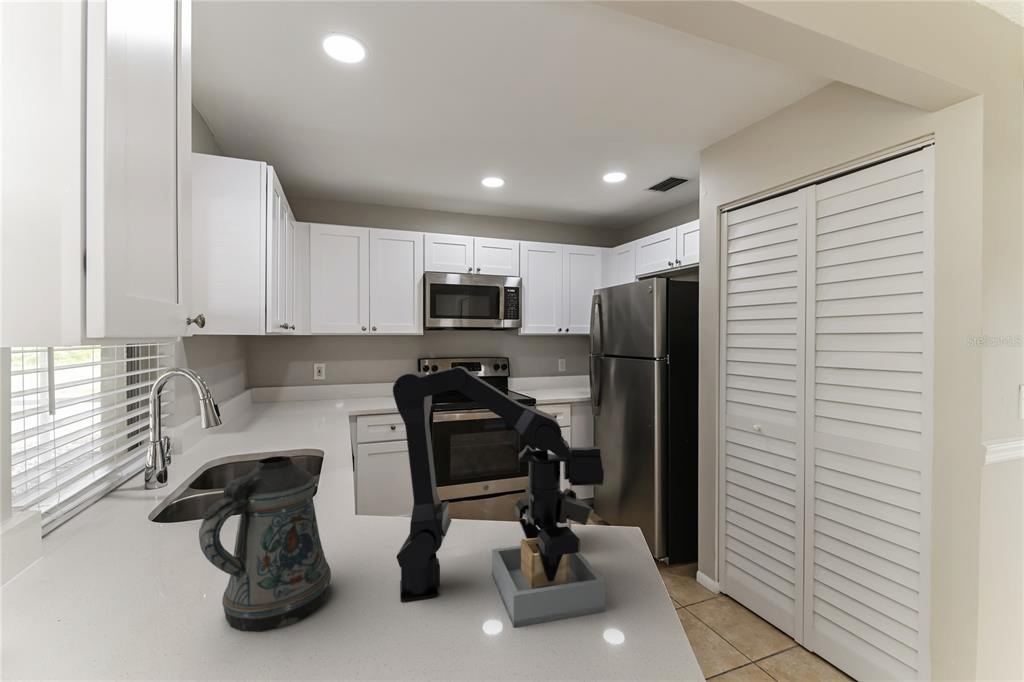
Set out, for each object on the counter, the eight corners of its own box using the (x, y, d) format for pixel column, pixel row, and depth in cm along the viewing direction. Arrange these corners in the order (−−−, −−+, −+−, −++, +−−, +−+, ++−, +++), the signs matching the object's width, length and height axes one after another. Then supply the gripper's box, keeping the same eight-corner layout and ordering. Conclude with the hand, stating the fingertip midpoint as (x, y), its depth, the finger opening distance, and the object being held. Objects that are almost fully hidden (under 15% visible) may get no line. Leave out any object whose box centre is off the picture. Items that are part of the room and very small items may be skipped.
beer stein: (345, 577, 83) (346, 447, 83) (291, 648, 63) (292, 478, 64) (261, 576, 83) (261, 446, 84) (181, 646, 64) (182, 477, 64)
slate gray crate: (513, 627, 68) (513, 595, 68) (491, 575, 84) (491, 549, 84) (605, 611, 72) (605, 581, 72) (568, 564, 88) (568, 539, 88)
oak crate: (531, 590, 74) (531, 555, 74) (520, 571, 80) (521, 539, 80) (569, 584, 76) (569, 550, 76) (556, 566, 82) (556, 535, 82)
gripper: (609, 498, 71) (609, 593, 71) (566, 467, 89) (566, 542, 89) (545, 504, 68) (545, 603, 68) (514, 471, 86) (514, 549, 86)
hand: (544, 571), depth 78 cm, fingers closed on oak crate, 6 cm apart
